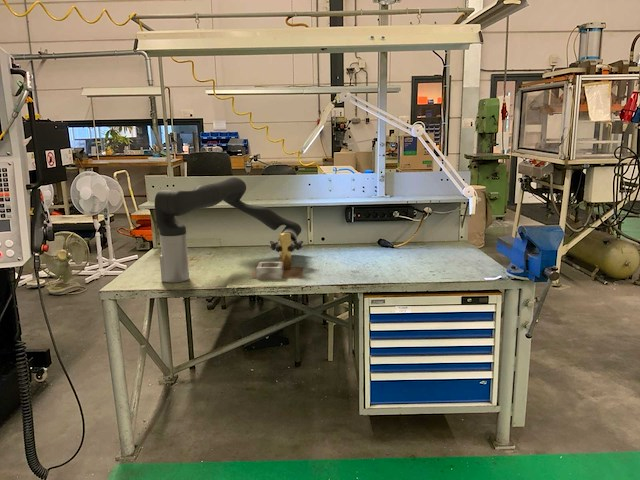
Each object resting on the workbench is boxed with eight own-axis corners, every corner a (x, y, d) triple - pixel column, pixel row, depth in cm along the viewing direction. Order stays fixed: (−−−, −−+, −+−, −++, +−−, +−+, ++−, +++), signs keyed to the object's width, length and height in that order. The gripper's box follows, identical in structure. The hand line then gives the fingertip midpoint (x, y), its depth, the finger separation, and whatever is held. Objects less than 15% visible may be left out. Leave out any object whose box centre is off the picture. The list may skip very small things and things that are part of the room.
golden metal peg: (279, 270, 184) (278, 234, 182) (280, 267, 189) (279, 232, 186) (291, 270, 184) (290, 234, 181) (291, 267, 189) (290, 232, 186)
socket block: (250, 281, 174) (249, 268, 173) (256, 269, 189) (255, 257, 188) (302, 281, 173) (302, 267, 172) (304, 269, 189) (303, 257, 188)
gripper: (270, 231, 198) (265, 239, 181) (304, 231, 198) (303, 239, 181) (271, 249, 200) (266, 259, 183) (305, 249, 200) (303, 258, 183)
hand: (284, 249), depth 182 cm, fingers closed on golden metal peg, 4 cm apart
